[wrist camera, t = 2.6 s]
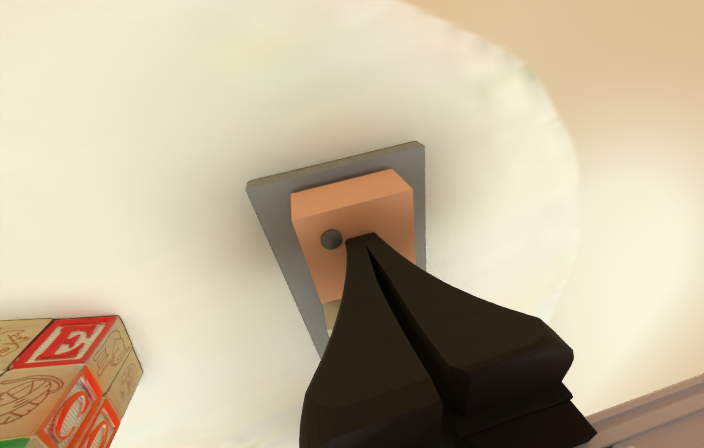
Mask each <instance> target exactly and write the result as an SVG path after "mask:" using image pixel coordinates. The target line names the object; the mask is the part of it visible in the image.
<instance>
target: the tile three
mask: <svg viewBox="0 0 704 448" xmlns="http://www.w3.org/2000/svg"><path fill="white" fill-rule="evenodd" d="M291 218H292V223H293V226H294V229H295V231H296V234H297V237H298V240H299V243H300V245H301V248H302V251H303V254H304V256H305V259H306V262H307V265H308V268H309V270H310V273H311V276H312V279H313V281H314V284H315V287H316V290H317V293H318V295H319V298H320V301H321V304H323V303H327V302H330V301H333V300H337V299H340V298H342V294H343V288H344V282H345V275H346V263H347V251H346V245H345V241H346V240H347V239H350V238H354V237H358V236H361V235H365V234H369V233H372V232H374V233H376V234H377V235H378V236H379V237H380V238H382V239H383V240H384V241H385V242H386V243H387V244H388V245H390V246H391V247H392V248H393V249H394V250H396V251H397V252H398V253H400V254H401V255H402V256H404V257H405V258H406V259H408V260H409V261H410V262H412V263H413V264H415V265H416V254H415V230H414V206H413V189H412V188H411V187H410V186H409V185H408V184H407V183H406V182H405V181H404V180H403V179H402V178H401V177H400V176H399V175H398V174H397V173H396V172H395V171H394V170H393V169H388V170H384V171H380V172H376V173H372V174H368V175H364V176H360V177H356V178H352V179H348V180H344V181H340V182H336V183H332V184H328V185H324V186H320V187H316V188H312V189H308V190H304V191H300V192H296V193H292V194H291Z"/></svg>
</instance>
